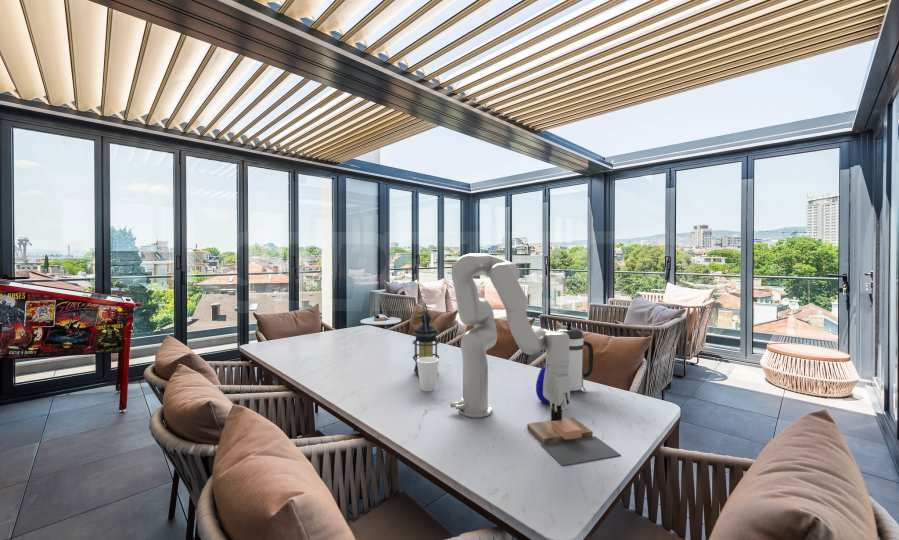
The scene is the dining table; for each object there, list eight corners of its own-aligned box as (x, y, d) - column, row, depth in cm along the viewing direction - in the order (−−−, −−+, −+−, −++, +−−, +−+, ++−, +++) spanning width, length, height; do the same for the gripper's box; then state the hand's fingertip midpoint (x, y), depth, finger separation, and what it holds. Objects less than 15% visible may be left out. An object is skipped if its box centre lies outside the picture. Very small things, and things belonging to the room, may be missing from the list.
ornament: (560, 408, 150) (560, 370, 149) (535, 406, 152) (536, 369, 151) (558, 397, 161) (558, 362, 160) (535, 396, 162) (536, 361, 162)
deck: (543, 445, 122) (543, 438, 122) (527, 429, 132) (527, 423, 132) (592, 437, 127) (592, 431, 127) (572, 422, 138) (572, 417, 137)
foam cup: (413, 390, 168) (413, 361, 168) (422, 383, 177) (422, 355, 176) (433, 393, 165) (433, 363, 164) (441, 386, 173) (441, 358, 172)
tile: (565, 439, 121) (565, 431, 121) (551, 428, 129) (551, 421, 129) (581, 437, 123) (581, 429, 123) (567, 426, 131) (567, 419, 131)
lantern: (438, 378, 185) (438, 305, 183) (411, 377, 185) (410, 305, 183) (439, 368, 199) (439, 301, 197) (414, 368, 199) (414, 301, 197)
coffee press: (583, 399, 159) (585, 327, 157) (545, 391, 167) (546, 323, 166) (592, 386, 174) (594, 320, 172) (557, 380, 182) (558, 317, 180)
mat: (562, 466, 110) (562, 465, 110) (540, 445, 122) (541, 444, 122) (620, 455, 116) (620, 454, 116) (595, 436, 127) (595, 436, 127)
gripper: (536, 363, 137) (535, 413, 138) (560, 376, 122) (559, 433, 123) (554, 361, 139) (554, 411, 140) (580, 374, 124) (579, 429, 125)
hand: (556, 421), depth 131 cm, fingers closed
